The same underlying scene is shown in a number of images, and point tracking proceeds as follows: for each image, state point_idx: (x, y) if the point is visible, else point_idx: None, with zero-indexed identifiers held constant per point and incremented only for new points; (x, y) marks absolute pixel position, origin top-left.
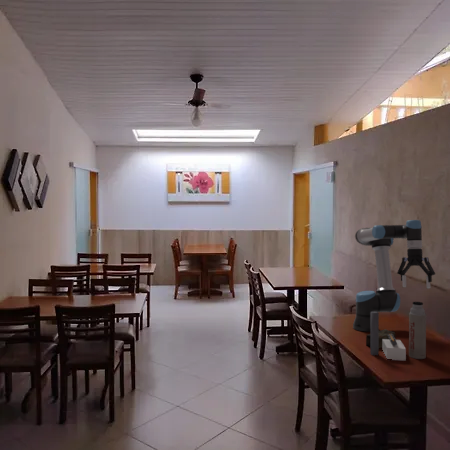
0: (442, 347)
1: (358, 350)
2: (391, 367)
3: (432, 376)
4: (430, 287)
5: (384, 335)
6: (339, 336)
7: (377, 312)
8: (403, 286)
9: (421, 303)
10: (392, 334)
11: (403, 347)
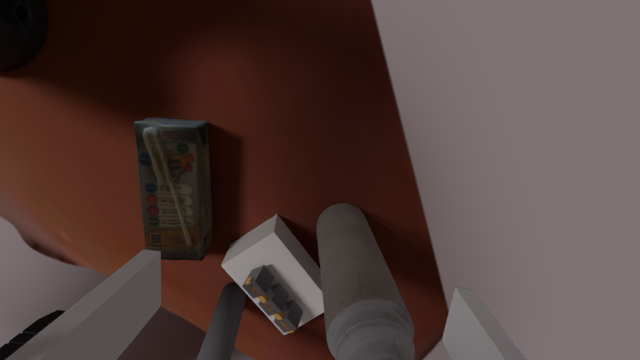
0: (376, 64)
1: (178, 293)
2: (323, 347)
3: (424, 336)
4: (477, 297)
5: (195, 210)
6: (16, 205)
7: None
8: (150, 312)
9: None
10: (262, 290)
11: (322, 300)
